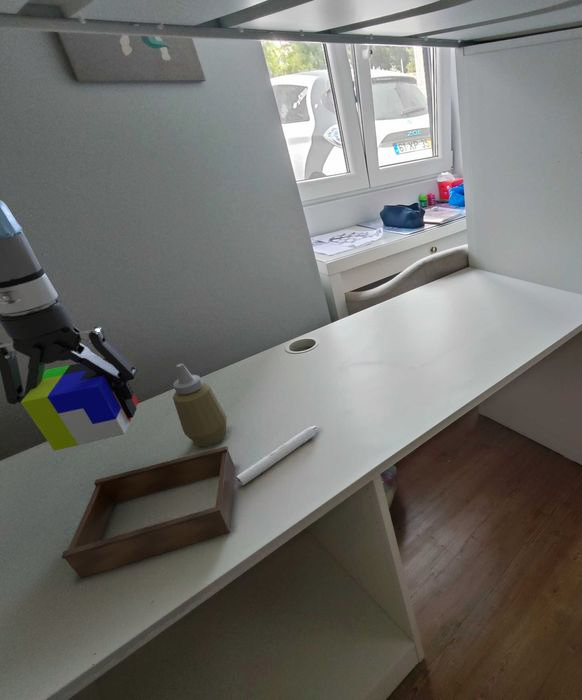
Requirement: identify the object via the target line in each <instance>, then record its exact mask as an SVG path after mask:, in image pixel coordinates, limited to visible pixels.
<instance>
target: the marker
mask: <svg viewBox="0 0 582 700" xmlns="http://www.w3.org/2000/svg"><path fill="white" fill-rule="evenodd" d="M319 429H320V427H319V425H312V426H308V427H307V428H305V429H304V430H302V431H301V432H299V433H298V434H296V435H295V436H293V437H292V438H291V439H289V440H287V442H285V443H283V444H282V445H280V446H279V447H277V448H275V450H273V451H272V452H270V453H269V454H267V455H265V456H264V457H263V458H262V459H260V460H258V461H256V462H255V463H254V464H252V465H251V466H249V467H248V468H247V469H245V470H244V471H242V472H241V473H239V474H238V475H237V476H235V479H236V481H237V483H238V484H239V485H240V486H242V487H243V486H245V485H247V484H248V483H249V482H251V481H252V480H254V479H255V478H256V477H258V476H259V475H261V474H262V473H264V472H265V471H266V470H267V469H269V468H270V467H272V466H274V465H275V464H276V463H278V462H279V461H280V460H282V459H283V458H284V457H286V456H287V455H289V454H290V453H292V452H293V451H294V450H296V449H297V448H299V447H300V446H303V444H304V443H306V442H308V441H309V440H310V439H312V438H313V437H314V436H315V435H316V434H317V432H318V431H319Z"/></svg>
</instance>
